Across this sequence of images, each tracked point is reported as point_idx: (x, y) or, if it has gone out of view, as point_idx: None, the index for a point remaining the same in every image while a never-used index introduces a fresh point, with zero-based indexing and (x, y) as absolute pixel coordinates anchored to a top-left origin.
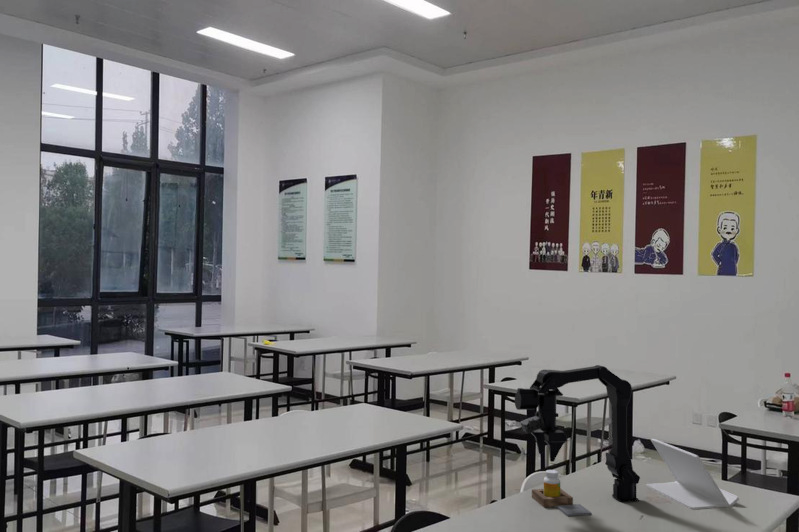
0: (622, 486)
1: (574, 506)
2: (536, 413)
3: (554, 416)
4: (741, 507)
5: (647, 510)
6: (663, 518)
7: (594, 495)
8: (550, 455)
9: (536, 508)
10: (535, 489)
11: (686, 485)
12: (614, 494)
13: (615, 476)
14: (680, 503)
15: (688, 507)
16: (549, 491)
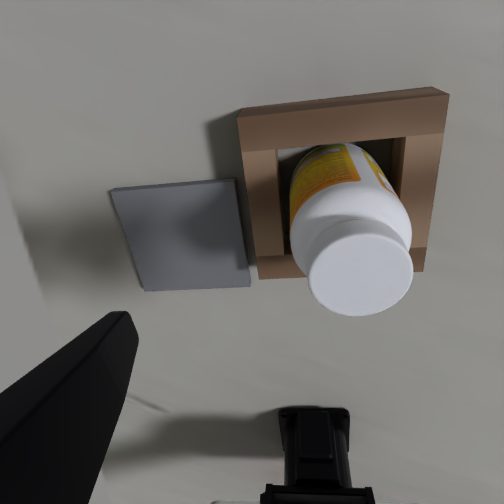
0: (293, 466)
1: (220, 256)
2: None
3: None
4: None
5: (204, 433)
6: (140, 437)
7: (373, 368)
8: (34, 368)
9: (223, 56)
10: (442, 122)
11: None
12: (317, 419)
13: (349, 493)
14: (256, 502)
15: (225, 502)
16: (300, 185)
